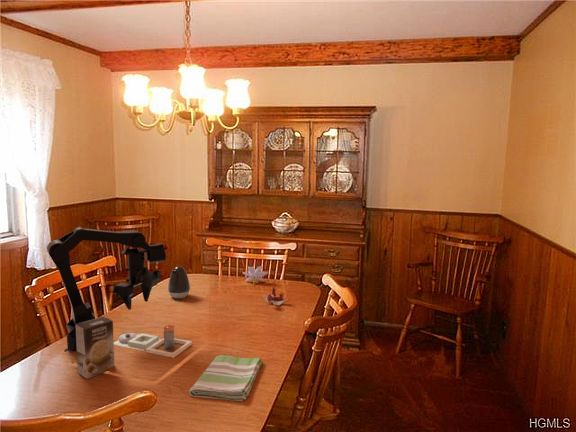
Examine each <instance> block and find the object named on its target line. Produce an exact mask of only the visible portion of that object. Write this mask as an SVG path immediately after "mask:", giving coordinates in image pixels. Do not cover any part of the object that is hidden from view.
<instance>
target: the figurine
mask: <svg viewBox="0 0 576 432" xmlns="http://www.w3.org/2000/svg"><path fill="white" fill-rule="evenodd" d="M276 287H278V286H277V285H274V286H273V287H271V288H272V289H271V293H269V294H267V296H266V295H265V294H262V296H261V297H262V298H263V299H264V300H265V302H266V303H267V304H268V303H272V304H273V305H274V306H280V305H282V304H283V303H285V302H287V301H288V298H284V295H285V292H280V293H279V296H277V295H276V291H277V288H276Z"/></svg>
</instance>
